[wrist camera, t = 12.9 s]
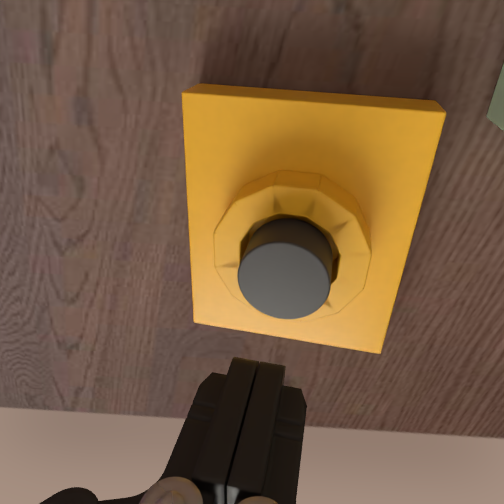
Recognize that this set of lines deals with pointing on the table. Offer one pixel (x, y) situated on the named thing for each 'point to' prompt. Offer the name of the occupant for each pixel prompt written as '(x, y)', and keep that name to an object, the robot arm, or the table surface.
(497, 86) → the green dial base plate
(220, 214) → the housing
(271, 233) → the dark grey push button
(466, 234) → the table surface
